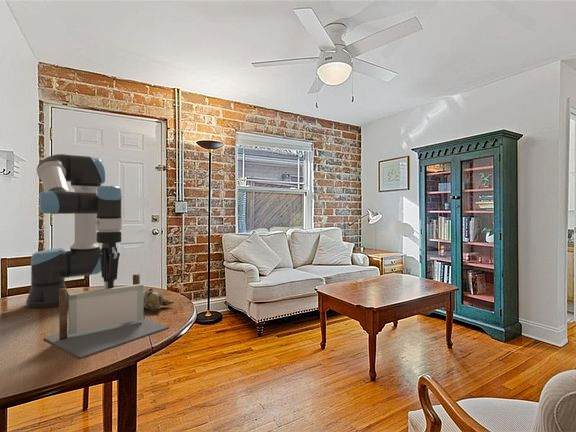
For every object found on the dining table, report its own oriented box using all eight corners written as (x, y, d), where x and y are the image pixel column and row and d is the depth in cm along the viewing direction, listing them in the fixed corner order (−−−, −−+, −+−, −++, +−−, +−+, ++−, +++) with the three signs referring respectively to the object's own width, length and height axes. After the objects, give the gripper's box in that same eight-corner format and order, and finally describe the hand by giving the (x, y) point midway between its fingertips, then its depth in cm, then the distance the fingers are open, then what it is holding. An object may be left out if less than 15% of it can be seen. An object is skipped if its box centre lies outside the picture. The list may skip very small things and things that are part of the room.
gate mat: (44, 339, 101) (44, 337, 101) (129, 315, 125) (129, 314, 125) (80, 358, 88) (80, 356, 88) (169, 328, 111) (169, 326, 111)
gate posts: (57, 340, 100) (57, 289, 100) (137, 315, 125) (136, 273, 125) (61, 342, 99) (61, 289, 99) (141, 316, 124) (141, 274, 123)
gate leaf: (69, 334, 101) (69, 295, 101) (68, 333, 102) (68, 293, 102) (143, 319, 115) (143, 284, 115) (141, 318, 117) (141, 283, 117)
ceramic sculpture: (146, 283, 140) (175, 288, 136) (145, 303, 141) (175, 308, 136) (127, 289, 130) (159, 294, 126) (126, 310, 130) (158, 316, 126)
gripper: (90, 230, 113) (91, 298, 113) (103, 232, 104) (103, 305, 104) (114, 229, 118) (114, 294, 119) (127, 231, 110) (127, 300, 110)
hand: (109, 299), depth 112 cm, fingers closed
